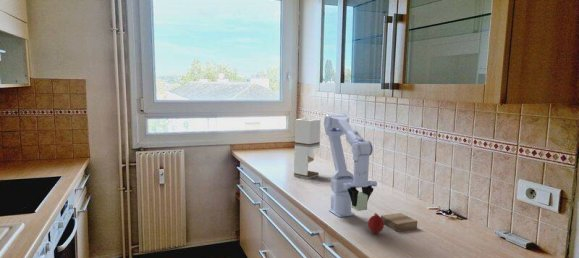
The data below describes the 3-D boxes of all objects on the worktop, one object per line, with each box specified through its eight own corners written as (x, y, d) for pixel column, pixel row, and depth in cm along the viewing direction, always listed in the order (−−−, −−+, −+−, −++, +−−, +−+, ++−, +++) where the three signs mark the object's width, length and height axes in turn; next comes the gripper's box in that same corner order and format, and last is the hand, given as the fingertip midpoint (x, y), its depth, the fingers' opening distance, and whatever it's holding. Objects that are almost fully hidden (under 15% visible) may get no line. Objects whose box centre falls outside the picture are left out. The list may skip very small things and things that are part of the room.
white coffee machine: (308, 179, 224) (310, 120, 221) (293, 176, 231) (295, 119, 227) (318, 175, 234) (320, 119, 230) (304, 173, 240) (306, 118, 236)
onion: (381, 230, 145) (382, 210, 144) (385, 236, 139) (386, 215, 139) (366, 230, 145) (367, 210, 144) (369, 236, 139) (370, 215, 138)
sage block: (351, 207, 151) (352, 192, 151) (360, 206, 153) (361, 192, 152) (357, 210, 147) (358, 196, 147) (367, 209, 149) (367, 195, 148)
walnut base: (380, 222, 154) (380, 215, 154) (400, 220, 158) (400, 213, 158) (396, 231, 145) (396, 224, 144) (417, 228, 149) (417, 221, 148)
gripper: (350, 175, 142) (349, 210, 144) (382, 172, 148) (380, 206, 149) (341, 171, 149) (339, 204, 150) (371, 168, 154) (370, 201, 156)
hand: (359, 205), depth 150 cm, fingers closed on sage block, 4 cm apart
